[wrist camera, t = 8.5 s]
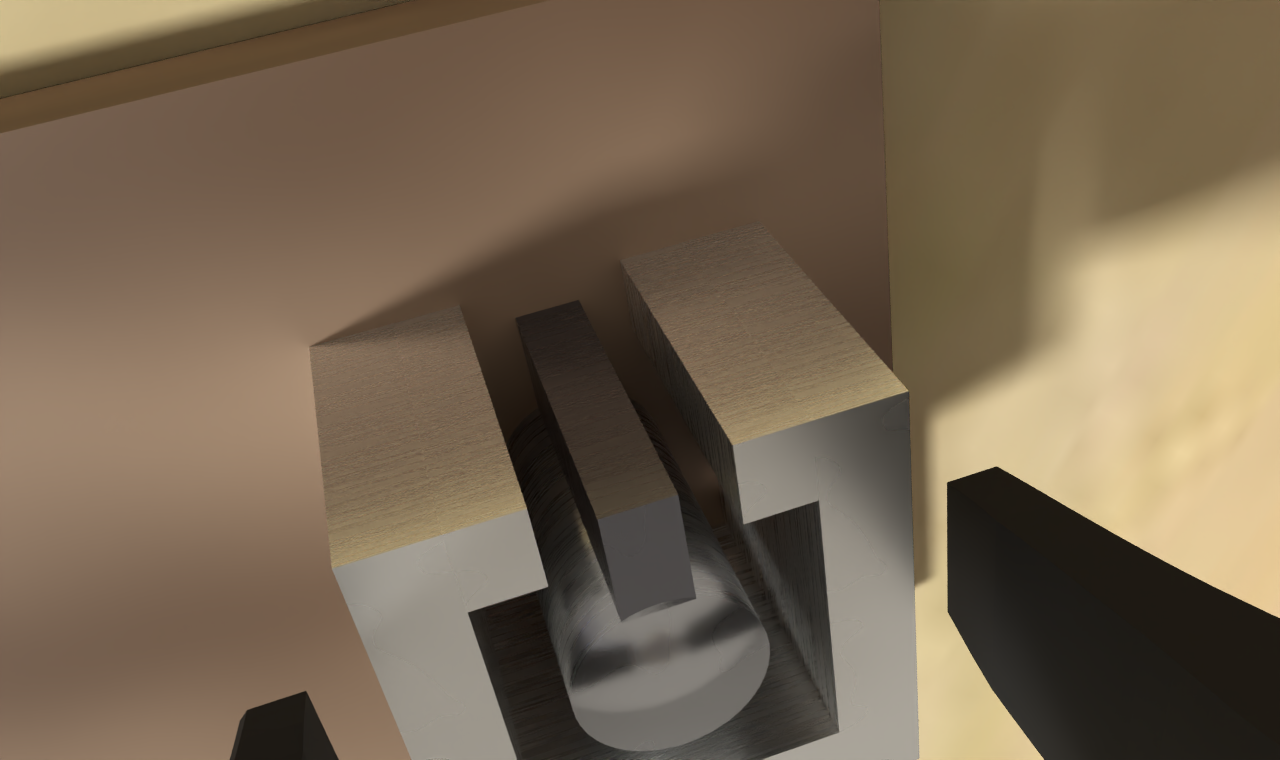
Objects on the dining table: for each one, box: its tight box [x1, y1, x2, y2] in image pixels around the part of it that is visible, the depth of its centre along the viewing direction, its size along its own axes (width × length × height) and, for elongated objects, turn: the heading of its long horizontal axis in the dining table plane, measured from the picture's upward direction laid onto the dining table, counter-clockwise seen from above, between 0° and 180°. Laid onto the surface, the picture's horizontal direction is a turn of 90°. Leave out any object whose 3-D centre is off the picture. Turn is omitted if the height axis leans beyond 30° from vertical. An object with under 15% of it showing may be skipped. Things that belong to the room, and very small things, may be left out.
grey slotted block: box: [309, 221, 919, 760], centre depth 14 cm, size 6×6×4 cm
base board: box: [0, 0, 893, 760], centre depth 15 cm, size 12×21×1 cm, turn 100°
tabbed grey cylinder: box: [506, 300, 770, 751], centre depth 14 cm, size 4×2×4 cm, turn 9°
